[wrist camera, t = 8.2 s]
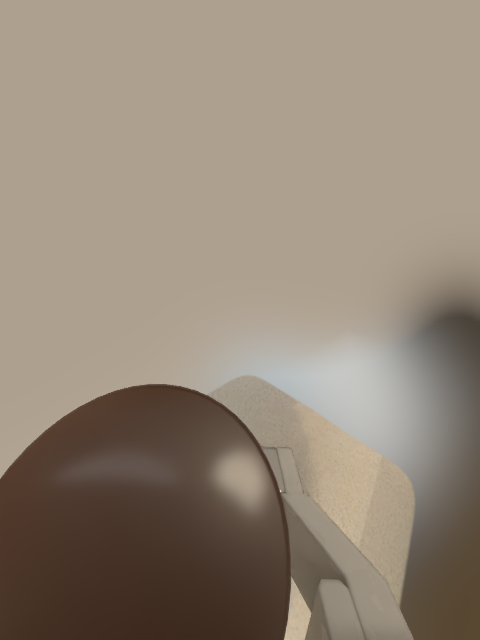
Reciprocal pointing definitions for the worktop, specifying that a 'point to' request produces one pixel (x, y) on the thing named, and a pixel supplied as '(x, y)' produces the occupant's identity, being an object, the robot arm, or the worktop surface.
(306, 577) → the robot arm
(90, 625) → the brown flanged cylinder
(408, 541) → the worktop surface
